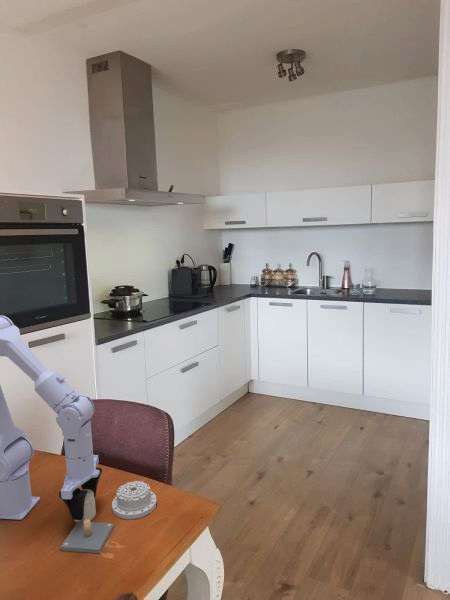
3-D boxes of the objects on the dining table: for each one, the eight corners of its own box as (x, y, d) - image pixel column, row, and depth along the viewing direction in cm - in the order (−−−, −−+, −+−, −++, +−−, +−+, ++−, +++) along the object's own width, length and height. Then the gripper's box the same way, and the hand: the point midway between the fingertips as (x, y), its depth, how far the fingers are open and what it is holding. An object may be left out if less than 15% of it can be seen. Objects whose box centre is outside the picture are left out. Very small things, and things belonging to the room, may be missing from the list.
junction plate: (60, 550, 92) (59, 532, 91) (78, 524, 99) (77, 507, 99) (99, 553, 90) (98, 534, 90) (114, 526, 98) (113, 509, 98)
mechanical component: (104, 518, 102) (147, 522, 100) (103, 499, 101) (146, 504, 99) (123, 492, 111) (162, 496, 109) (121, 475, 111) (161, 478, 109)
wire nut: (69, 521, 100) (68, 500, 99) (79, 508, 105) (77, 488, 104) (90, 523, 100) (88, 501, 99) (98, 509, 104) (96, 489, 103)
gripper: (82, 471, 92) (87, 532, 94) (109, 437, 106) (113, 491, 109) (49, 469, 93) (54, 530, 95) (80, 436, 107) (84, 490, 110)
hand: (83, 509), depth 102 cm, fingers open, 6 cm apart
